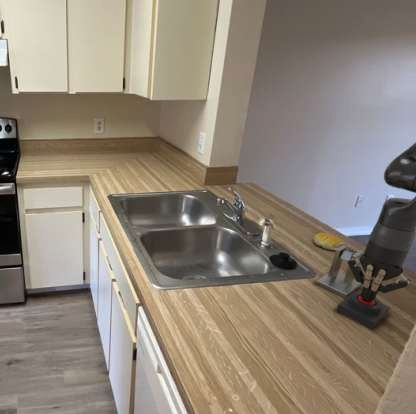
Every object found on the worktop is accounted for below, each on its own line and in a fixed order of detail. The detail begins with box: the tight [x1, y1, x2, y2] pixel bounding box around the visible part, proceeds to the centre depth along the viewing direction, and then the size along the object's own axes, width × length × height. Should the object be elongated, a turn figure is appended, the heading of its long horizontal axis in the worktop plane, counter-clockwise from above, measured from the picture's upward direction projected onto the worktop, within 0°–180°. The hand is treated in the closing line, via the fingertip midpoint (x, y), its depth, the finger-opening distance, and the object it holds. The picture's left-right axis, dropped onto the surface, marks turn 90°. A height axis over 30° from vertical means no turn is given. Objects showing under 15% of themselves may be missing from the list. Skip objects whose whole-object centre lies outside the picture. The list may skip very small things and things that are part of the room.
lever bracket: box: [315, 244, 364, 299], centre depth 96 cm, size 10×8×12 cm
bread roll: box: [313, 232, 345, 251], centre depth 119 cm, size 8×9×4 cm
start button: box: [358, 296, 375, 306], centre depth 86 cm, size 4×4×2 cm
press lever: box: [341, 248, 358, 262], centre depth 97 cm, size 12×6×2 cm, turn 124°
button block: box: [336, 290, 391, 330], centre depth 87 cm, size 10×8×4 cm
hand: (366, 299), depth 86 cm, fingers closed
